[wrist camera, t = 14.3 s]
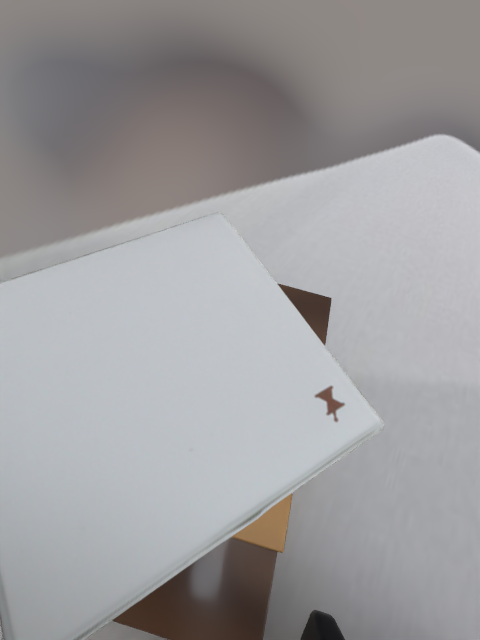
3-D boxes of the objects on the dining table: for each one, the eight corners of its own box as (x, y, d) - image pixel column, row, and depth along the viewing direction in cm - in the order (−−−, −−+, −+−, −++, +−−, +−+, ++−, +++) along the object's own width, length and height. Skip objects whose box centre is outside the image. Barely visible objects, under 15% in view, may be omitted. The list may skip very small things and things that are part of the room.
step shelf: (253, 657, 16) (275, 713, 11) (25, 582, 17) (-44, 607, 12) (308, 337, 26) (331, 297, 21) (162, 297, 26) (153, 249, 22)
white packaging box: (214, 368, 20) (228, 201, 10) (278, 484, 17) (405, 431, 7) (93, 426, 18) (-68, 290, 7) (145, 573, 15) (1, 715, 4)
